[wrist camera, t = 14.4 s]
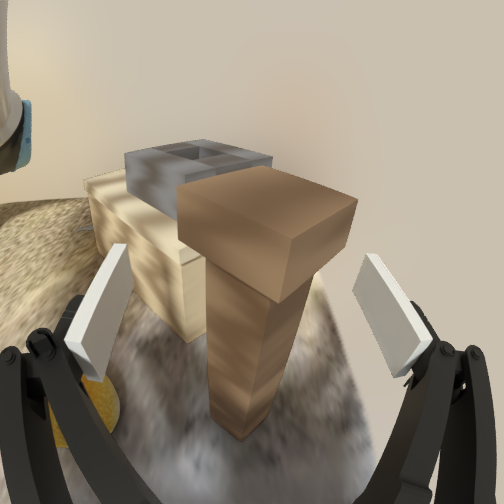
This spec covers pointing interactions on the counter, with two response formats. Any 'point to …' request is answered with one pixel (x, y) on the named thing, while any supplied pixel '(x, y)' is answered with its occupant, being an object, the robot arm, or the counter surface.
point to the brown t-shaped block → (257, 276)
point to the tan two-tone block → (162, 223)
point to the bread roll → (103, 402)
